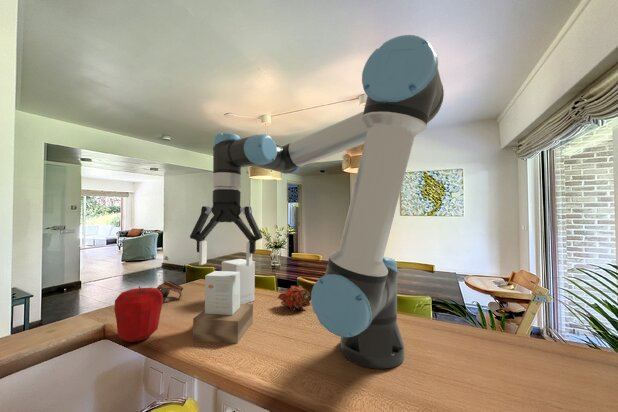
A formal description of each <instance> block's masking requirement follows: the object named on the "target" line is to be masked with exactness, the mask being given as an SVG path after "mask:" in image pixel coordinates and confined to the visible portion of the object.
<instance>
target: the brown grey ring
mask: <svg viewBox="0 0 618 412" xmlns="http://www.w3.org/2000/svg"><path fill="white" fill-rule="evenodd" d="M156 288H157V289H158V290H159V291H160V292H161V293H162V296H163V303H166V300H167V298H168V297H169V295H170V291H172V292H175V293H178V294H179V297H178V300H179V301H181V299H182V297H183V292H182V291H183V290H184V287H182V286H181V285H179V284H176V283H175V282H172V281H169V280H164V282H163V283H160V284H159V285H157V287H156Z"/></svg>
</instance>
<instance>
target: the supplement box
mask: <svg viewBox="0 0 618 412" xmlns="http://www.w3.org/2000/svg"><path fill="white" fill-rule="evenodd" d="M221 271H233V272H240V304H249V303H252V302H255V288H256V287H255V285H256V284H255V283H256V282H255V281H256V280H255V279H256V277H255V276H256V274H255V271H256V260H252V265H250V266H246V259H244V258H236V259H231V260H224V261H221Z"/></svg>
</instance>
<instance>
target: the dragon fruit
mask: <svg viewBox="0 0 618 412" xmlns="http://www.w3.org/2000/svg"><path fill="white" fill-rule="evenodd" d="M277 300H280V301H281V302H280V304H281V305H282V306H283V307H288V308H290V310H291V311H296V309H297V310H298V311H302V310H303V309H304V308H306V307H309V306H310V305H311V293H310V292H309V291H308V290H307V289H306V288H304V287H303V286H302V285H298V286H296V285H290V287H288V288H287V290H284V291H283V292H282V293H280V294H279V295H278V297H277Z"/></svg>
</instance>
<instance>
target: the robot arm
mask: <svg viewBox="0 0 618 412" xmlns="http://www.w3.org/2000/svg"><path fill="white" fill-rule="evenodd" d="M440 75H441V74H440V71H439V60H438V56H437V54H436V52H435V51H434V49H433V47H432V45H431V43H430V42H429V41H428V40H426V39H425V38H423V37H421V36H419V35H415V34H404V35H403V34H402V35H399V36H396V37H393V38H391V39H388V40H386V41H385V42H384V43H383V42H382V45H381V46H380V47H379V48H376V49H374V51H373V52H372V53H371V54H370V55H369V57H368V58H367V60H366V62H365V65H364V67H363V69H362V74H361V83H362V87H363V91H364V94H366V101H365V104H364V109H363V111H361V112H358V113H357V114H355V115H351V116H350V117H347V118H345V119H343V120H341V121H338V122H336V123H333V124H331V125H328V126H327V127H324V128H322V129H319V130H317V131H315V132H313V133H310V134H308V135H306V136H304V137H301V138H298V139H296V140H294V141H291V142H290V143H288V144H284V145H279V144H277V143H276V142H275V140H274V139H272V136H270V135H268V134H253V135H250V136H247V137H243V138H242V137H241V136H239V135H238V134H235V133H230V132H224V133H223V132H221V133H217V134H215V135H214V138H213V146H212V157H213V159H212V165H213V166H212V168H213V169H212V171H213V172H212V173H213V174H212V188H213V190H212V206H211V207H210V206H206V205H205V206H202V207H201V209H200V215H199V217H198V219H197V222H195V226H194V227H193V229H192V231H191V234H190V235H189V239H192V240H195V241H196V252H197V253H199V254H198V266H203V265H205V264H207V261H208V260H207V259H208V254H207V252H208V251H207V250H208V247H207V246H208V241H207V240H206V239H205V238H207V236H209V234H210V233H211V232H212V231H213V229H215V227H216V226H217V225H218V224H219V223H234V224H235V225H236V226H237V227H238V229H239V230H240V231H241V232H242V233H243V235H244V236H245V238H246V239H247V240H248V241H247V242H246V245H245V246H246V247H245V248H246V249H245V250H246V251H245V252H246V255H245V256H246V257H245V258H246V259H245V260H246V266H250V265H252V261H253V254H255V253H256V251H257V250H256V249H257V248H256V246H257V243H256V242H257V241H259V240H261V239H263V235H262V233H261V230H260V229H259V226H258V224H257V222H256V220H255V218H254V216H253V211H252V206H248V205H247V206H244V207H241V193H242V192H241V191H240V190H239V189H241V184H242V183H241V181H242V178H241V174H242V172H241V171H242V168H246V167H257V168H261V169H265V170H271V171H274V172H278V173H282V174H285V175H286V174H290V175H291V174H296V173H297V172H298V171H299V170H300V169H301V167H303V166H305V165H308V164H312V163H314V162H318V161H320V160H323V159H325V158H328V157H331V156H333V155H336V154H337V155H338V154H340V153H342V152H345V151H348V150H350V149H354V148H356V147H359V146H362V145H363V148H362V152H361V156H360V161H359V166H358V169H357V172H356V173H357V174H356V177H355V182H354V185H353V190H352V194H351V197H350V202H349V205H348V206H349V207H348V210H347V215H346V219H345V224H344V228H343V232H342V236H341V239H340V244H339V248H338V249H336V250H334V251H332V252H331V253H330V255H329V256H328V262H327V266H326V269H325V274H324V275H322V276H321V277H319V278H318V280H317V281H316V282H315V283H314V284H313V286H312V288H311V293H310V296H311V300H310V305H311V307H312V310H313V311H312V312H313V313H314V314H315V315H316V318H317V321H318V322H319V324H321V326H322V327H323V328H324V329H326V330H327V331H328V332H329V333H331V334H333V335H335V336H338V337H340V340H339V341H340V343H339V344H340V347H339V348H340V352H341V353H342V355H343V356H344V357H345V358H347V360H349V361H351V362H352V363H355V364H356V365H358V366H359V365H360V366H362V367H365V368H371V369H383V370H384V369H385V370H386V369H391V368H394V367H398V366H399V365H401V364H402V363H403V361H404V360H405V343H404V340H403V337H402V334H401V331H400V328H399V324H398V316H397V315H398V274H399V271H398V264H397V261H396V260H395V259H394V258H391V257H387V256H386V257H385V253H386V248H387V245H388V240H389V236H390V233H391V229H392V225H393V221H394V217H395V213H396V209H397V206H398V203H399V202H398V201H399V198H400V194H401V190H402V187H403V182H404V178H405V175H406V171H407V167H408V163H409V159H410V156H411V151H412V147H413V145H414V139H415V137H416V136H417V135H419V134H420V133H422V132H424V131H425V130H426V129H427V126H428V123H429V122H431V121H432V120H433V119H434V118H435V117H436V115H437V114H438V113H439V111H440V110H441V108H442V105H443V102H444V96H445V93H444V92H445V91H444V85H443V81H442V79H441V76H440ZM241 213H242V214H243V215H244V216H245V219H246V220H247V223H248V225H249V227H250V229H251V230H250V229H249V227H248V226H247V225H246V224H245V223H244V221H243V219H242V218H241V216H240V214H241ZM211 214H213V215H212V218H211V219H210V220H209V222H208V223H207V225H205V224H206V222H207V220H208V218H209V216H210V215H211Z"/></svg>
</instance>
